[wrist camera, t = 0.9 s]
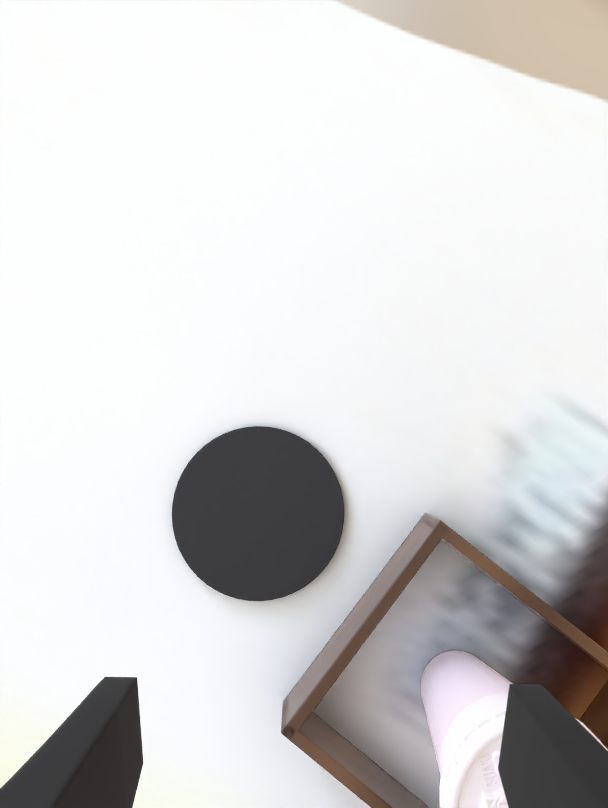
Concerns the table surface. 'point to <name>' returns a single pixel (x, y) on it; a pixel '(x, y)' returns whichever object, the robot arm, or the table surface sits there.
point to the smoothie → (467, 728)
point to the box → (298, 720)
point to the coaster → (258, 513)
